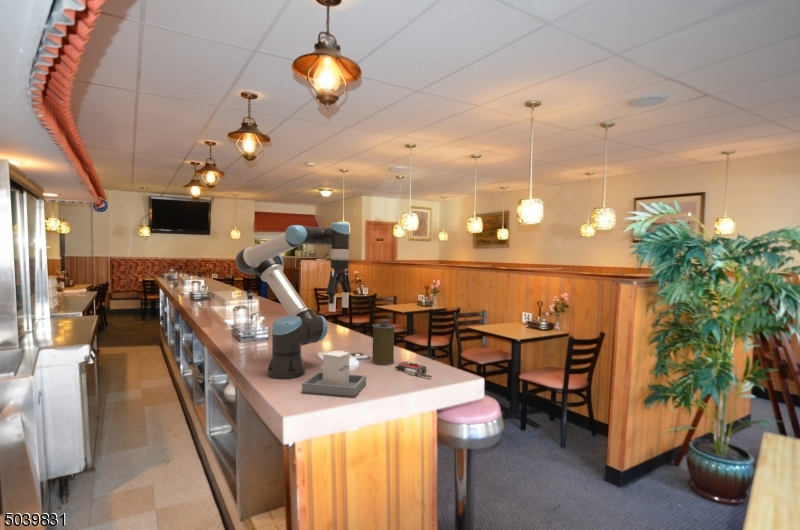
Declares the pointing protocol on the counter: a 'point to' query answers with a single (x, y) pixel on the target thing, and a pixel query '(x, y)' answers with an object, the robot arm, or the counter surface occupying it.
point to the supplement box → (336, 368)
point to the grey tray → (334, 386)
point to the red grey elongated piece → (412, 368)
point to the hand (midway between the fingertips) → (338, 309)
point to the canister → (383, 343)
